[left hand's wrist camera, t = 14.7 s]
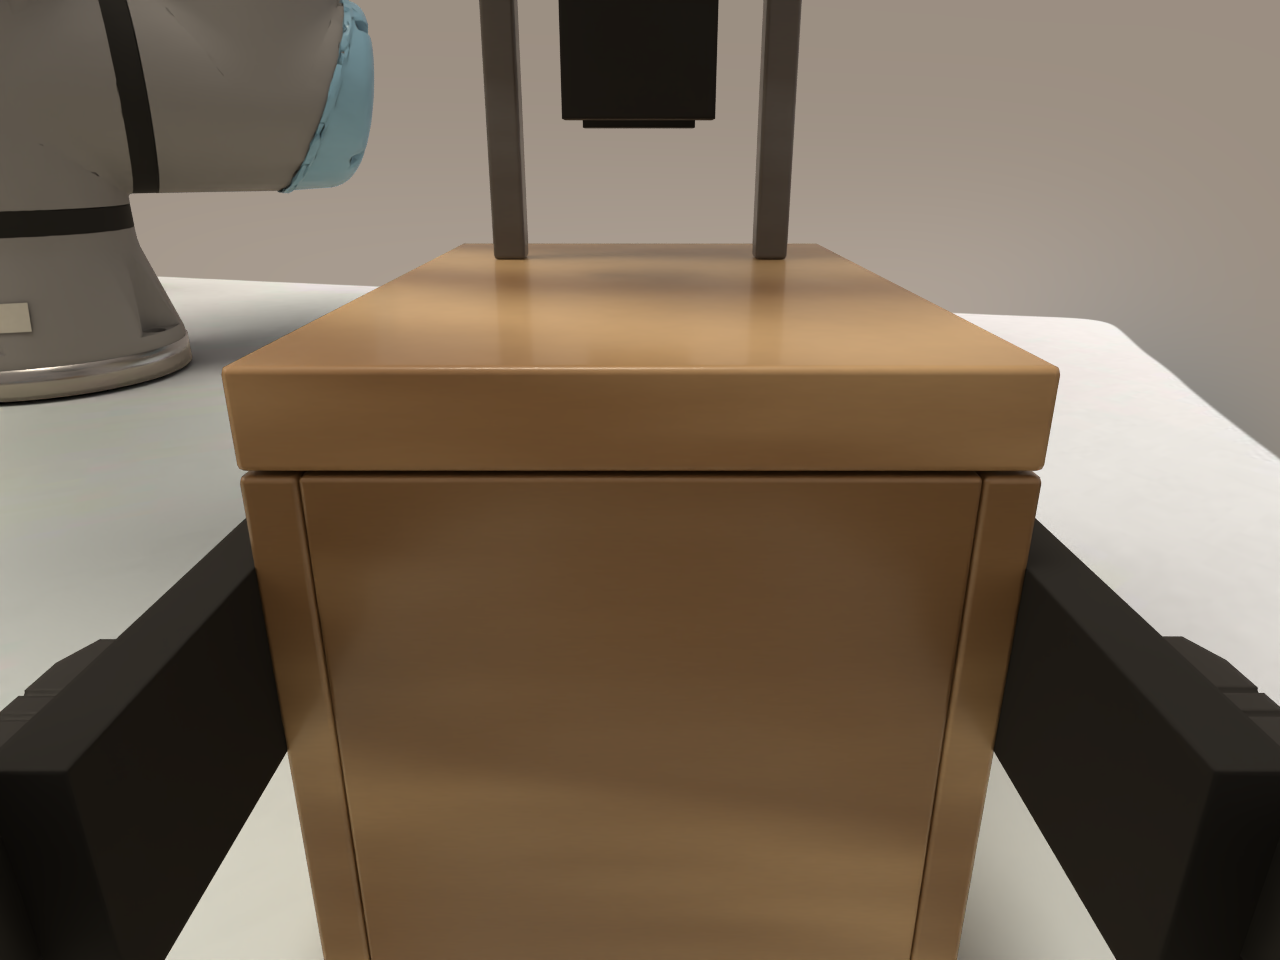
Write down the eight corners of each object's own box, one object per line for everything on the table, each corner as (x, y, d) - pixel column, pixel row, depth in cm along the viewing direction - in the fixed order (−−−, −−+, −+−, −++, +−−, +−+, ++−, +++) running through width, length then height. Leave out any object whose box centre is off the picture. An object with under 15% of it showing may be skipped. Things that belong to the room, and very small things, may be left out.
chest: (484, 616, 26) (460, 296, 23) (796, 615, 26) (820, 296, 23) (337, 1050, 13) (236, 477, 10) (943, 1050, 13) (1045, 477, 10)
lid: (464, 291, 23) (434, -130, 20) (815, 292, 23) (846, -130, 20) (235, 473, 10) (28, -692, 7) (1046, 473, 10) (1254, -691, 7)
